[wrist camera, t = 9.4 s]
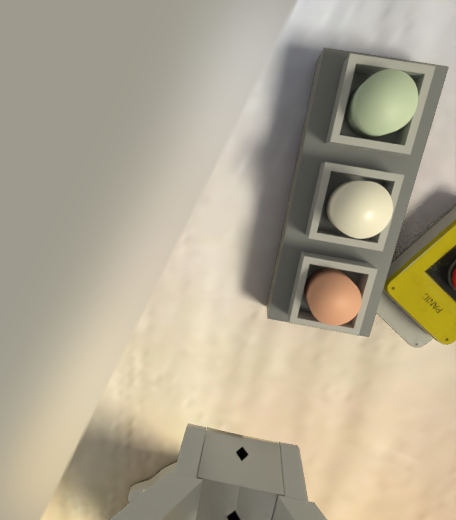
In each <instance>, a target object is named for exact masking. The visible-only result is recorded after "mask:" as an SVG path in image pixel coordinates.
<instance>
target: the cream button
mask: <svg viewBox="0 0 456 520" xmlns="http://www.w3.org/2000/svg"><path fill="white" fill-rule="evenodd" d="M326 212H327V216H328V219H329V221H330V222H331V224H332V225H333V226H334V227H336V228H337V229H338V230H340V231H341V232H343V233H344V234H346V235H348V236H350V237H353V238H358V239H364V238H369V237H372V236H375V235H377V234H378V233H380V232H381V231H382V230H383V229H384V228H385V227H386V226H387V225H388V223H389V221H390V219H391V217H392V213H393V202H392V199H391V196H390V194H389V193H388V191H387V190H386V189H385V188H384V187H383V186H381V185H379V184H377V183H375V182H371V181H348V182H345V183H343V184H341V185H339V186H338V187H336V188H335V189H334V190H333V192H332V193H331V194H330V196H329V198H328V201H327V205H326Z"/></svg>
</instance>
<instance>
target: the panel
mask: <svg viewBox="0 0 456 520" xmlns="http://www.w3.org/2000/svg"><path fill="white" fill-rule="evenodd" d="M386 69H396V70H400V71H403V72H405V73H406V74H408V75H409V76H410V77H411V78H412V79H413V81H414V82H415V84H416V87H417V90H418V104H417V108H416V111H415V113H414V115H413V117H412V118H411V119H410V121H409V122H408V123H407V124H406V125H405V126H403V127H402V128H400V129H399V130H397V131H394V132H391V133H388V134H385V135H382V136H379V137H374V138H367V137H363V136H360V135H358V134H357V133H356V132H354V131H353V130H352V128H351V127H350V125H349V123H348V121H347V116H346V108H347V104H348V101H349V98H350V97H351V95H352V94H353V92H354V91H355V90H356V89H357V88H358V87H359V86H360V85H361V84H363V83H364V82H365V81H366V80H367V79H368V78H370V77H371V76H372V75H374V74H375V73H377V72H379V71H382V70H386ZM447 71H448V67H447V66H441V65H434V64H428V63H421V62H415V61H408V60H401V59H395V58H388V57H382V56H375V55H369V54H362V53H355V52H349V51H342V50H336V49H329V48H324V49H323V50H322V52H321V54H320V56H319V58H318V60H317V65H316V70H315V75H314V80H313V84H312V89H311V94H310V99H309V104H308V109H307V114H306V118H305V123H304V128H303V133H302V138H301V143H300V148H299V152H298V157H297V162H296V167H295V172H294V177H293V182H292V186H291V191H290V196H289V201H288V206H287V211H286V216H285V220H284V225H283V230H282V235H281V240H280V245H279V250H278V254H277V259H276V264H275V269H274V274H273V279H272V284H271V288H270V293H269V298H268V303H267V318H268V319H274V320H279V321H285V322H289V323H293V324H298V325H304V326H309V327H315V328H320V329H325V330H331V331H336V332H342V333H347V334H352V335H358V336H359V335H360V336H366V337H369V336H370V332H371V329H372V325H373V322H374V319H375V315H376V312H377V308H378V305H379V302H380V298H381V295H382V292H383V288H384V285H385V281H386V278H387V275H388V271H389V268H390V264H391V261H392V258H393V254H394V251H395V247H396V244H397V241H398V237H399V234H400V230H401V227H402V224H403V220H404V217H405V213H406V210H407V207H408V203H409V200H410V196H411V193H412V190H413V186H414V183H415V179H416V176H417V173H418V169H419V166H420V163H421V159H422V156H423V152H424V149H425V146H426V142H427V139H428V135H429V132H430V129H431V125H432V122H433V118H434V115H435V112H436V108H437V105H438V101H439V98H440V95H441V91H442V88H443V84H444V81H445V78H446V74H447ZM348 181H371V182H375V183H377V184H379V185H381V186H383V187H384V188H385V189H386V190H387V191H388V193H389V194H390V196H391V199H392V202H393V213H392V217H391V219H390V221H389V223H388V225H387V226H386V227H385V228H384V229H383V230H382V231H381V232H380V233H378V234H377V235H375V236H372V237H369V238H364V239H358V238H353V237H350V236H348V235H346V234H344V233H343V232H341V231H340V230H338V229H337V228H336V227H334V226H333V225H332V224H331V222H330V221H329V219H328V216H327V212H326V205H327V201H328V198H329V196H330V194H331V193H332V192H333V190H334V189H335V188H336V187H338V186H339V185H341V184H343V183H345V182H348ZM324 268H335V269H338V270H340V271H342V272H344V273H345V274H346V275H347V276H348V277H349V278H350V279H351V281H352V282H353V283H354V284H355V285H356V286H357V287H358V289H359V291H360V293H361V298H362V303H361V307H360V310H359V312H358V313H357V315H356V316H355V317H354V318H353V319H352V320H350V321H349V322H347V323H345V324H342V325H327V324H324V323H322V322H320V321H319V320H317V319H316V318H315V317H314V315H313V314H312V312H311V310H310V308H309V305H308V303H307V300H306V298H305V293H304V289H305V284H306V282H307V280H308V278H309V277H310V276H311V275H312V274H313V273H315V272H316V271H318V270H320V269H324Z"/></svg>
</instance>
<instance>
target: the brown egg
mask: <svg viewBox="0 0 456 520" xmlns="http://www.w3.org/2000/svg"><path fill="white" fill-rule="evenodd" d="M304 293H305V298H306V300H307V303H308V305H309V308H310V310H311V312H312V314H313V315H314V317H315V318H316V319H317V320H319V321H320V322H322V323H324V324H327V325H342V324H345V323H347V322H349V321H350V320H352V319H353V318H354V317H355V316H356V315H357V313H358V312H359V310H360V307H361V303H362V298H361V293H360V291H359V289H358V287H357V286H356V285H355V284H354V283H353V282H352V281H351V279H350V278H349V277H348V276H347V275H346V274H345V273H344V272H342V271H340V270H338V269H335V268H324V269H320V270H318V271H316V272H315V273H313V274H312V275H311V276H310V277H309V278H308V280H307V282H306V284H305V289H304Z"/></svg>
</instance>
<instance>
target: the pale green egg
mask: <svg viewBox="0 0 456 520" xmlns="http://www.w3.org/2000/svg"><path fill="white" fill-rule="evenodd" d="M417 104H418V90H417V87H416V84H415V82H414V81H413V79H412V78H411V77H410V76H409V75H408V74H406V73H405V72H403V71H400V70H396V69H386V70H382V71H379V72H377V73H375V74H374V75H372V76H371V77H370V78H368V79H367V80H366V81H365V82H364V83H363V84H361V85H360V86H359V87H358V88H357V89H356V90H355V91H354V92H353V94H352V95H351V97H350V98H349V101H348V104H347V108H346V116H347V121H348V123H349V125H350V127H351V128H352V130H353V131H354V132H356V133H357V134H358V135H360V136H363V137H367V138H374V137H379V136H382V135H385V134H388V133H391V132H394V131H397V130H399V129H400V128H402V127H403V126H405V125H406V124H407V123H408V122H409V121H410V119H411V118H412V117H413V115H414V113H415V111H416V108H417Z"/></svg>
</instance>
